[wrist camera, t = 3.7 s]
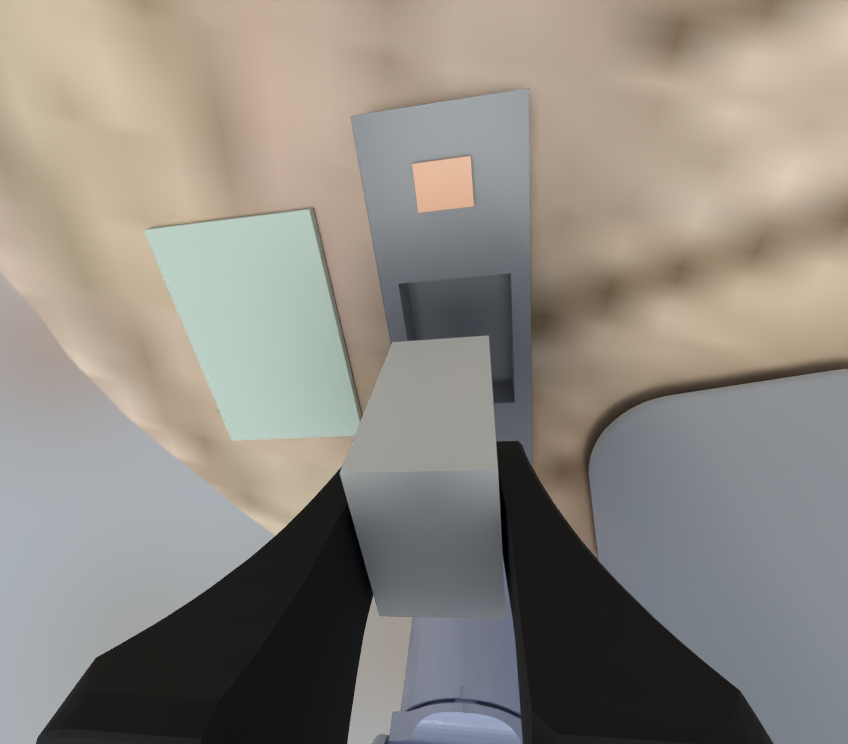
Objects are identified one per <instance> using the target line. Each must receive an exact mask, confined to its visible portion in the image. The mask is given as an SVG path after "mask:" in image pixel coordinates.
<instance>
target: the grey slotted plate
mask: <svg viewBox="0 0 848 744" xmlns="http://www.w3.org/2000/svg"><path fill="white" fill-rule="evenodd" d="M350 117H351V123H352V128H353V134H354V140H355V145H356V151H357V157H358V162H359V168H360V173H361V179H362V185H363V190H364V196H365V202H366V207H367V213H368V218H369V224H370V230H371V235H372V241H373V247H374V252H375V258H376V263H377V269H378V275H379V280H380V286H381V292H382V297H383V303H384V308H385V314H386V320H387V325H388V331H389V336H390V342H391V344H392V342H402V341H416V340H431V339H445V338H459V337H474V336H488V335H489V346H490V360H491V375H492V389H493V404H494V418H495V433H496V441H519V442H520V443H521V444H522V445H523V448H524V451H525V453H526V456H527V458H528V460H529V462H530V464H531V466H532V382H531V255H530V128H529V88H526V89H520V90H513V91H507V92H501V93H494V94H488V95H481V96H475V97H469V98H462V99H456V100H450V101H443V102H437V103H430V104H424V105H418V106H411V107H405V108H398V109H392V110H386V111H379V112H373V113H367V114H360V115H354V116H350Z"/></svg>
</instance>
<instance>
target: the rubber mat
mask: <svg viewBox="0 0 848 744" xmlns="http://www.w3.org/2000/svg"><path fill="white" fill-rule="evenodd" d="M144 233H145V235H146V238H147V240H148V242H149V245H150V247H151V250H152V252H153V254H154V257H155V259H156V261H157V264H158V266H159V269H160V271H161V273H162V276H163V278H164V281H165V283H166V285H167V288H168V290H169V292H170V295H171V297H172V300H173V302H174V304H175V307H176V309H177V311H178V314H179V316H180V319H181V321H182V323H183V326H184V328H185V331H186V333H187V335H188V338H189V340H190V342H191V345H192V347H193V350H194V352H195V354H196V357H197V359H198V362H199V364H200V366H201V369H202V371H203V373H204V376H205V378H206V381H207V383H208V385H209V388H210V390H211V392H212V395H213V397H214V400H215V402H216V404H217V407H218V409H219V412H220V414H221V416H222V419H223V421H224V423H225V426H226V428H227V431H228V433H229V435H230V438H231V440H232V441H233V440H259V439H285V438H310V437H336V436H355V434H356V431H357V429H358V426H359V424H360V421H361V419H362V415H361V411H360V406H359V402H358V398H357V394H356V389H355V385H354V381H353V377H352V372H351V368H350V364H349V359H348V355H347V351H346V347H345V342H344V338H343V334H342V329H341V325H340V321H339V317H338V312H337V308H336V304H335V299H334V295H333V291H332V287H331V282H330V278H329V274H328V269H327V265H326V261H325V257H324V252H323V248H322V244H321V239H320V235H319V231H318V227H317V222H316V218H315V214H314V209H313V208H308V209H300V210H292V211H284V212H276V213H268V214H260V215H252V216H244V217H236V218H228V219H220V220H212V221H204V222H196V223H188V224H180V225H172V226H164V227H155V228H149V229H146V230H144Z"/></svg>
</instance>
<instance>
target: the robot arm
mask: <svg viewBox="0 0 848 744" xmlns="http://www.w3.org/2000/svg"><path fill="white" fill-rule="evenodd" d="M496 447H497V461H498V478H499V497H500V516H501V535H502V554H503V573H504V591H505V610H506V620H500V619H466V618H431V617H413V619H412V627H411V634H410V642H409V650H408V658H407V665H406V673H405V680H404V688H403V696H402V704H401V711H400V712H393V713H392V720H391V728H390V734H389V735H385V734H380V735H378V736H377V737H376V738H375V739H374V741H373V743H372V744H773V742H772V740H771V738H770V737H769V735H768V734H767V732H766V730H765V729H764V727H763V725H762V724H761V722H760V720H759V719H758V717H757V716H756V714H755V713H754V711H753V709H752V708H751V706H750V705H749V703H748V702H747V700H746V699H745V697H744V696H743V694H742V693H741V691H740V690H739V689H738V688H736V687H735V686H734V685H733V684H731V683H730V682H729V681H728V680H726V679H725V678H724V677H723V676H721V675H720V674H719V673H718V672H716V671H715V670H714V669H713V668H711V667H710V666H709V665H708V664H707V663H705V662H704V661H703V660H702V659H701V658H700V657H698V656H697V655H696V654H695V653H694V652H692V651H691V650H690V649H689V648H688V647H687V646H685V645H684V644H683V643H682V642H681V641H680V640H679V639H677V638H676V637H675V636H674V635H673V634H672V633H671V632H670V631H669V630H667V629H666V628H665V627H664V626H663V625H662V624H661V623H660V622H659V621H657V620H656V619H655V618H654V617H653V616H652V615H651V614H650V613H649V612H648V611H647V610H646V609H645V608H644V607H643V606H642V605H641V604H640V603H639V602H638V601H637V600H636V599H635V598H634V597H633V596H632V595H631V594H630V593H629V592H628V591H627V590H626V589H625V588H624V587H623V586H622V585H621V584H620V583H619V582H618V581H617V580H616V579H615V578H614V577H613V576H612V575H611V574H610V573H609V572H608V571H607V569H606V568H605V567H604V566H603V565H602V564H601V563H600V562H599V561H598V560H597V558H596V557H595V556H594V555H593V554H592V552H591V551H590V550H589V549H588V548H587V547H586V545H585V544H584V543H583V542H582V541H581V539H580V538H579V537H578V535H577V534H576V533H575V532H574V530H573V529H572V528H571V526H570V525H569V524H568V522H567V521H566V520H565V518H564V517H563V515H562V514H561V513H560V511H559V510H558V508H557V507H556V505H555V504H554V503H553V501H552V499H551V498H550V496H549V495H548V493H547V492H546V490H545V488H544V487H543V485H542V484H541V482H540V480H539V479H538V477H537V475H536V473H535V471H534V470H533V468H532V466H531V464H530V462H529V460H528V458H527V456H526V453H525V451H524V448H523V445H522V444H521V443H520V442H519V441H496ZM341 468H342V467H341ZM341 468H340V469H339V470H338V472H337V473H336V474H335V475H334V476H333V477H332V478H331V480H330V481H329V482H328V483H327V484H326V485H325V486H324V487H323V488H322V490H321V491H320V492H319V493H318V494H317V495H316V496H315V497H314V498H313V499H312V501H311V502H310V503H309V504H308V505H307V506H306V507H305V508H304V509H303V510H302V511H301V512H300V513H299V514H298V515H297V516H296V517H295V518H294V519H293V520H292V521H291V522H290V523H289V524H288V525H287V526H286V527H285V528H284V529H283V530H282V531H280V532H279V533H278V534H277V535H276V536H275V537H274V538H273V539H272V540H270V541H269V542H268V543H267V544H266V545H265V546H263V547H262V548H261V549H260V550H259V551H258V552H257V553H255V554H254V555H253V556H252V557H251V558H249V559H248V560H247V561H245V562H244V563H243V564H241V565H240V566H239V567H237V568H236V569H235V570H233V571H232V572H231V573H229V574H228V575H227V576H225V577H224V578H223V579H221V580H220V581H219V582H217V583H216V584H215V585H213V586H212V587H211V588H209V589H208V590H206V591H205V592H204V593H202V594H201V595H199V596H198V597H196V598H195V599H193V600H192V601H190V602H189V603H187V604H186V605H184V606H183V607H181V608H180V609H178V610H176V611H175V612H173V613H172V614H170V615H169V616H167V617H166V618H164V619H162V620H161V621H159V622H157V623H156V624H155V625H153V626H151V627H149V628H147V629H146V630H144V631H142V632H141V633H139V634H137V635H135V636H134V637H132V638H130V639H128V640H127V641H125V642H123V643H122V644H120V645H118V646H117V647H115V648H113V649H111V650H109V651H108V652H106V653H104V654H102V655H100V656H98V657H97V658H96V659H95V660H94V662H93V663H92V664H91V665H90V667H89V668H88V669H87V671H86V672H85V673H84V675H83V676H82V677H81V679H80V680H79V682H78V683H77V684H76V686H75V687H74V689H73V690H72V691H71V693H70V694H69V695H68V697H67V698H66V700H65V701H64V702H63V704H62V705H61V706H60V708H59V709H58V710H57V712H56V713H55V715H54V716H53V717H52V719H51V720H50V722H49V723H48V724H47V726H46V727H45V728H44V730H43V731H42V732H41V734H40V735H39V737H38V738H37V742H36V744H347V740H348V732H349V725H350V718H351V711H352V704H353V698H354V691H355V684H356V677H357V671H358V665H359V659H360V653H361V647H362V641H363V635H364V630H365V626H366V621H367V617H368V613H369V609H370V605H371V601H372V597H373V591H372V587H371V584H370V580H369V577H368V573H367V569H366V566H365V562H364V559H363V555H362V552H361V548H360V544H359V541H358V537H357V534H356V530H355V527H354V523H353V519H352V516H351V512H350V509H349V505H348V502H347V498H346V495H345V491H344V487H343V484H342V480H341V477H340V471H341Z"/></svg>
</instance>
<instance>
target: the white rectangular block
mask: <svg viewBox="0 0 848 744" xmlns="http://www.w3.org/2000/svg"><path fill="white" fill-rule="evenodd" d="M340 477H341V480H342V484H343V487H344V491H345V495H346V498H347V502H348V505H349V509H350V512H351V516H352V519H353V523H354V527H355V530H356V534H357V537H358V541H359V544H360V548H361V552H362V555H363V559H364V562H365V566H366V569H367V573H368V577H369V580H370V584H371V587H372V591H373V594H374V598H375V602H376V605H377V609H378V612H379V616H398V617H431V618H466V619H500V620H506V610H505V591H504V573H503V554H502V535H501V516H500V497H499V478H498V461H497V447H496V433H495V418H494V404H493V389H492V375H491V360H490V346H489V335H488V336H474V337H459V338H445V339H431V340H416V341H402V342H392V344H391V347H390V349H389V352H388V354H387V357H386V359H385V362H384V364H383V367H382V369H381V372H380V374H379V377H378V379H377V382H376V384H375V387H374V389H373V391H372V394H371V396H370V399H369V401H368V404H367V406H366V409H365V411H364V414H363V416H362V419H361V421H360V424H359V426H358V429H357V431H356V434H355V436H354V439H353V441H352V444H351V446H350V449H349V451H348V454H347V456H346V458H345V461H344V463H343V466H342V468H341V471H340Z"/></svg>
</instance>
